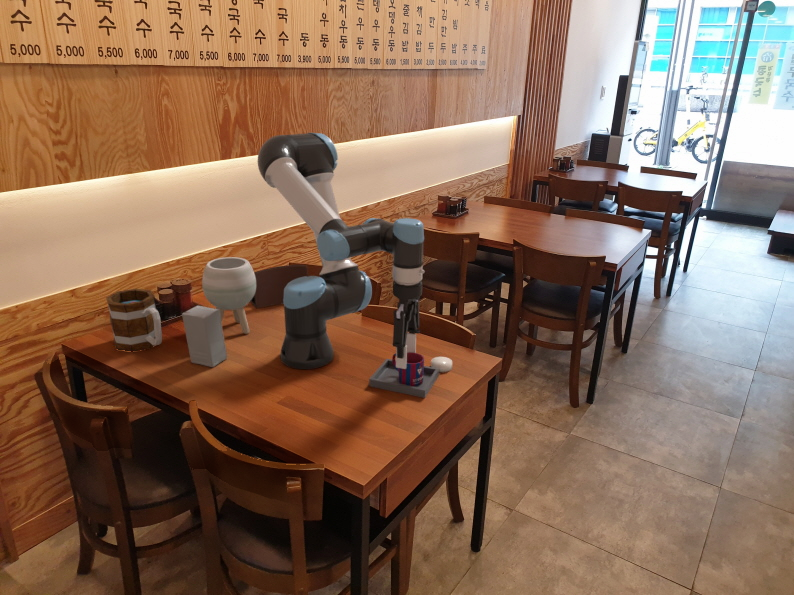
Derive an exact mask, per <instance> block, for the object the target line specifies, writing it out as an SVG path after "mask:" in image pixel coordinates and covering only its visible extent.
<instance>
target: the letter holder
mask: <svg viewBox="0 0 794 595" xmlns="http://www.w3.org/2000/svg"><path fill="white" fill-rule="evenodd" d="M254 274H255V278H256V292H255V294H254V296H253V298H252V299H251V301H250V302H249V303H251V304H252V306H253V307H254V308H255V309H261V308H267V307H272V306H278V305H284V304H283V299H284V289H285V287H286V285H287V284H288V283H289V282H291V281H292V280H294V279H297V278H300V277H304V276H307V277H309V270H308V266H307V265H305V264H290V265H289V264H288V265H280V266H279V265H278V266H274V267H269V268H265V269H262V270H258V271H255V272H254Z"/></svg>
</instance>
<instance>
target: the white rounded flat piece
mask: <svg viewBox="0 0 794 595" xmlns="http://www.w3.org/2000/svg"><path fill="white" fill-rule="evenodd" d="M430 367H433V368H438V369H439V373H447V372H449V371H452V369H453V360H452V359H451V358H449V357H446V356H435V357H433V358H432V359H431V360H430Z"/></svg>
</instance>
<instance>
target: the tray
mask: <svg viewBox="0 0 794 595" xmlns="http://www.w3.org/2000/svg"><path fill="white" fill-rule="evenodd" d="M395 362H396V359H395ZM439 377H440V372H439V369H438V368H433V367H431V366H428V365H424V376H423V383H422V384H420V385H418V386H409V385H404V384H401V383H400V382H399V372H398V371H397V370H396V369H395V367H394V365H393V362H392V358H386V359H385V360H384V361H383V362H382V363H381V364H380V366H379V367H378V368H377V369H376V370H375V372H374V373H373V374H372V375H371V376H370V377H369V379H368V380H369V381H368V386H369V387H371V388H376V389H381V390H385V391H390V392H395V393H400V394H403V395H409V396H414V397H419V398H423V399H425V398H426V397H427V395H428V394H429V392H430V390H431V389H432V387H433V386H434V384H435V382H436V381H437V379H438V378H439Z"/></svg>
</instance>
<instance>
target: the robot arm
mask: <svg viewBox="0 0 794 595" xmlns="http://www.w3.org/2000/svg"><path fill="white" fill-rule="evenodd" d="M338 160H339V158H338V152H337V147H336V146H335V144H334V142H333V141H332V140H331V138H330V137H328V136H327V135H326V134H324V133H321V132H319V133H318V132H317V133H316V132H307V133H298V134H297V133H296V134H279V135H278V134H277V135H275V136H272V137H270V138H269V139H267V140H265V142H264V143H263V144H262V146H261V147H260V148H259V152H258V155H257V168H258V171H259V173H260V175H261V177H262V178H263V180H264V182H266V184H267V185H268V186H270V188H274V189H277V191H278V193H280V194H281V196H283V198H284V199H285V200H286V201H287V202H288V204H289V205H290V207H291V208H293V209H294V211H295V212H296V213H297V214H298V215H299V216H300V218H301V219H302V220H303V222H305V224H306V225H307V226H308V227H309V228H310V229H311V231H312V233H313V235H314V238H315V242H316V247H317V248H316V249H317V250H318V254H319V258H320V262H321V266H322V268H321V271H320V272H319V276H317V275H308V277H307V276H304V277H300V278H297V279H294V280H292V281H291V282H289V283H288V284H287V285H286V287H285V289H284V299H283V304H282V305H283V309H284V327H285V328H284V330H285V335H284V338H283V341H282V345H281V349H280V361H281V362H282V364H283V365H285V366H286V367H289V368H291V369H298V370H313V369H318V368H321V367H324V366H326V365H329V363H330V362H331V361H333V359H334V348H333V345H332V342H331V339H330V337H329V334H328V332H327V321H329V320H332V319H336V318H340V317H343V316H347V315H350V314H354V313H355V314H356V313H357V312H359V311H363V310H364V309H366V308H367V307H368V305H369V304H370V301H371V299H372V296H373V295H372V294H373V288H372V282H371V279H370V277H369V276H368V274H367V273H366V272H365V271H363V270H360V269H359V268H360V267H359V265H358V264H357V263H355V262H354V261H352V258H354V257H358V256H363V255H367V254H372V253H376V252H386V253H389V254H392V258H393V260H392V280H393V281H392V295H393V297H396V298H397V299H398V302H397V306H396V308H397V309H394V310H393V334H392V336H393V337H392V347H395V353H396V357H395V360H396V367H397V368H402V369H406V368H407V353H409V352H413V353H417V334H420V332H421V330H420V299H421V296H422V294H423V282H422V280H423V274H425V272H426V271H425V270H424V269H423V267H424V242H425V235H424V234H425V233H424V232H425V230H424V229H425V228H424V227H425V226H424V223H423V222H422V221H421V220H419V219H417V218H408V217H407V218H406V217H405V218H398V219H396V220H395V221H394V222H390V221H387V220H385V219H382V218H377V217H375V218H374V217H372V218H368V219H367V220H365V221H363V223H362V224H357V225H356V224H355V225H352V226H348V225H347V224H346V223H345V221H344V220H343V219H342V218H341V216H340V213H339V209H338V205H337V202H336V201H337V200H336V198H335V193H334V190H333V186H332V183H331V182H332V180H333V178H334V177H335V174H334V171H335V170H336V168H337V166H338Z"/></svg>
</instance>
